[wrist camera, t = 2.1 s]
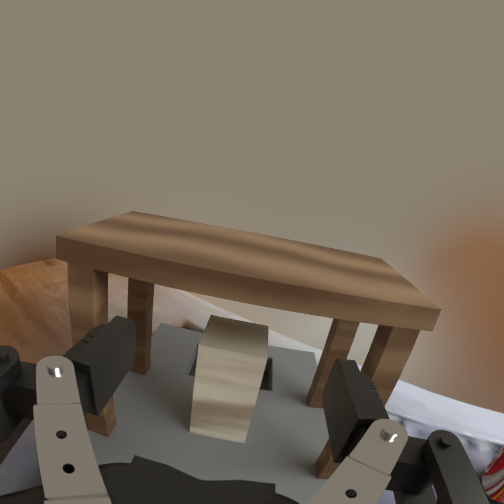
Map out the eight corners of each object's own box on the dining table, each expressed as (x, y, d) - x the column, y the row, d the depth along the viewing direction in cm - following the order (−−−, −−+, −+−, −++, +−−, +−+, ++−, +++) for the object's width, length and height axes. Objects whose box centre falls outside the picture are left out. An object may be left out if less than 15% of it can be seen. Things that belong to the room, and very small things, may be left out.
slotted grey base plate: (341, 617, 7) (359, 613, 6) (31, 554, 7) (16, 543, 7) (309, 366, 42) (314, 350, 41) (160, 337, 42) (161, 321, 42)
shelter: (349, 478, 20) (441, 309, 16) (79, 425, 20) (56, 235, 16) (331, 398, 32) (380, 258, 28) (127, 358, 32) (132, 211, 28)
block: (244, 443, 24) (267, 357, 21) (189, 432, 24) (198, 344, 21) (248, 408, 28) (268, 326, 26) (199, 398, 29) (211, 315, 26)
